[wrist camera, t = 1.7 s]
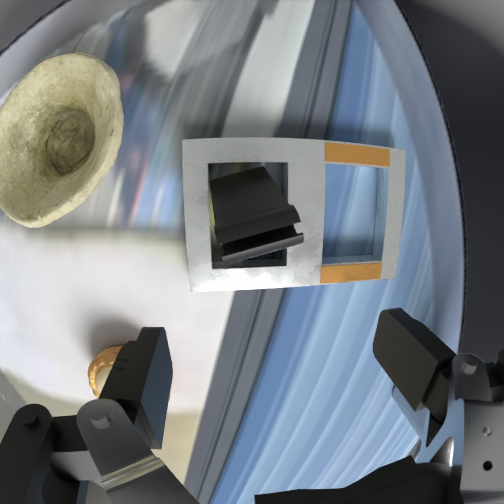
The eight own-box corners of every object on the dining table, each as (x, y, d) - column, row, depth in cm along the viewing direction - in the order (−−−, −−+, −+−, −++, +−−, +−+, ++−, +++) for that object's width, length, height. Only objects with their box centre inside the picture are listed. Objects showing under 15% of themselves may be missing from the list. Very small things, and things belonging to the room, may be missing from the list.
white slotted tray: (394, 150, 30) (406, 150, 28) (385, 271, 35) (395, 278, 32) (185, 142, 28) (181, 139, 25) (192, 282, 33) (190, 292, 30)
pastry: (183, 392, 38) (180, 437, 30) (117, 398, 38) (106, 439, 29) (154, 331, 34) (141, 377, 26) (83, 342, 34) (60, 382, 25)
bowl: (79, 201, 32) (-16, 191, 21) (123, 72, 27) (24, 47, 16) (100, 254, 24) (-38, 246, 13) (165, 66, 19) (11, 23, 8)
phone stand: (209, 180, 29) (201, 187, 18) (263, 166, 30) (288, 165, 18) (231, 257, 32) (236, 306, 21) (282, 243, 32) (313, 285, 21)
